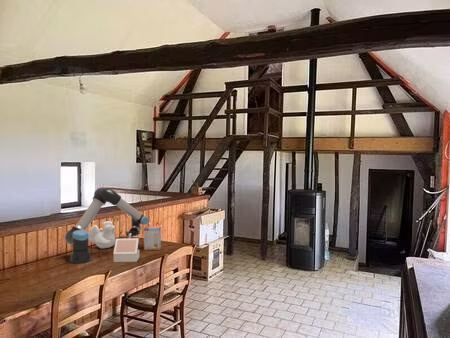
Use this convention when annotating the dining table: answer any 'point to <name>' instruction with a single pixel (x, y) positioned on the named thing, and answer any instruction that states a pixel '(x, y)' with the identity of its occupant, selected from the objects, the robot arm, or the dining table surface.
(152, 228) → the cracker box
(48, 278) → the dining table surface
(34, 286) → the dining table surface
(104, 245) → the decorative rooster
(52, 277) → the dining table surface
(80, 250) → the robot arm
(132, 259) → the box
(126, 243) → the mailer lid
